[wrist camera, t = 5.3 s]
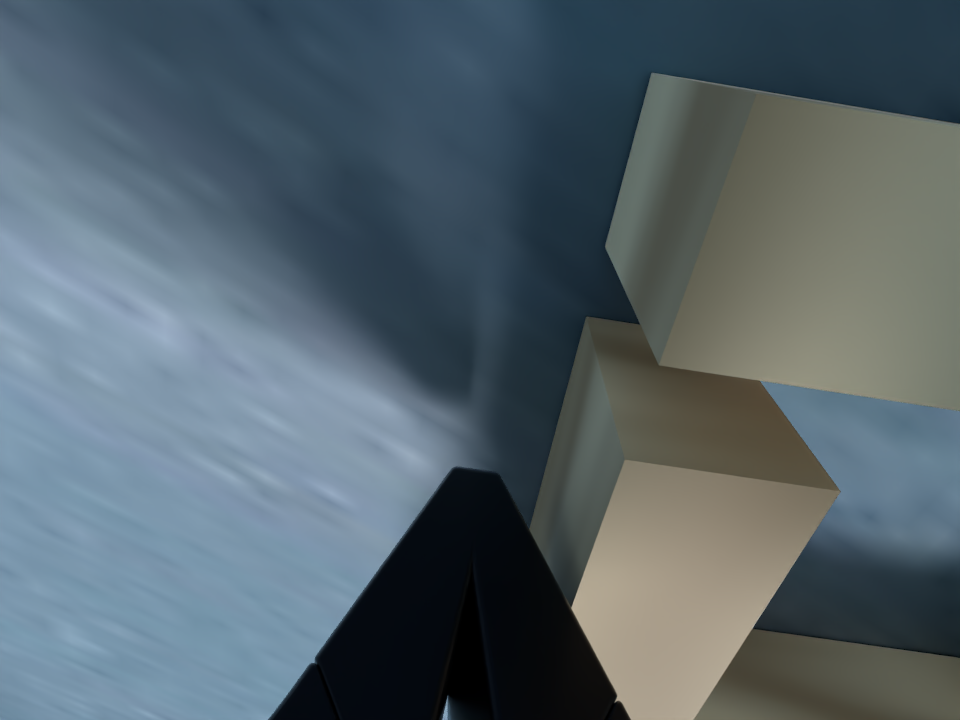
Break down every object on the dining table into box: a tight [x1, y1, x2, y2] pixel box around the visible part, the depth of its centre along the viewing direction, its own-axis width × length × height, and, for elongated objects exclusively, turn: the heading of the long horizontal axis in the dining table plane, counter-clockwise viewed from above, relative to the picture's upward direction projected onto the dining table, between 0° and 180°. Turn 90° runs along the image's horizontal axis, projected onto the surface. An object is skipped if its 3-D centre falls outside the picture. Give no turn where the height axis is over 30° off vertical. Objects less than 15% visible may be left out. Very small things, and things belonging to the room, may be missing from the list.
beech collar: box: [529, 73, 960, 720], centre depth 8 cm, size 11×11×3 cm
